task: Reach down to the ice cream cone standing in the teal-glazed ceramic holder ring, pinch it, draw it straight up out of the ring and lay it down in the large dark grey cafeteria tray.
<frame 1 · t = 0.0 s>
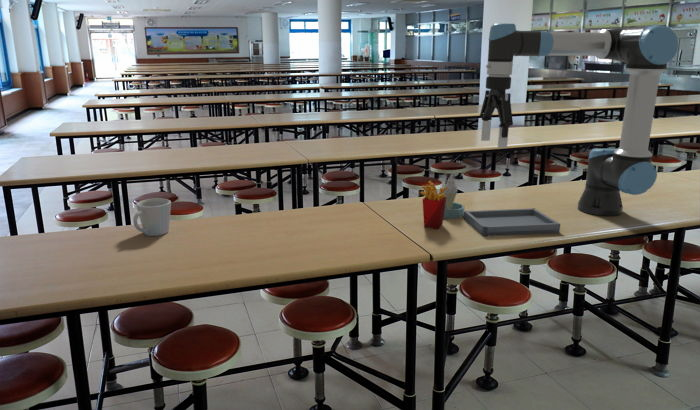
hand: (493, 144, 177), 28 cm above the table, fingers open, 13 cm apart
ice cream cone: (448, 214, 199), resting in holder cup
french fries: (429, 227, 185), on the table
holder cup: (448, 213, 199), on the table
mug: (152, 235, 175), on the table
tray: (509, 225, 186), on the table
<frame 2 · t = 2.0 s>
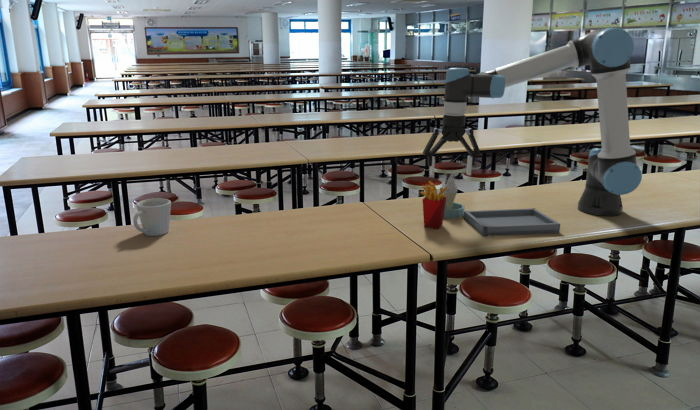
hand: (450, 174, 195), 14 cm above the table, fingers open, 13 cm apart
nothing on the table moved.
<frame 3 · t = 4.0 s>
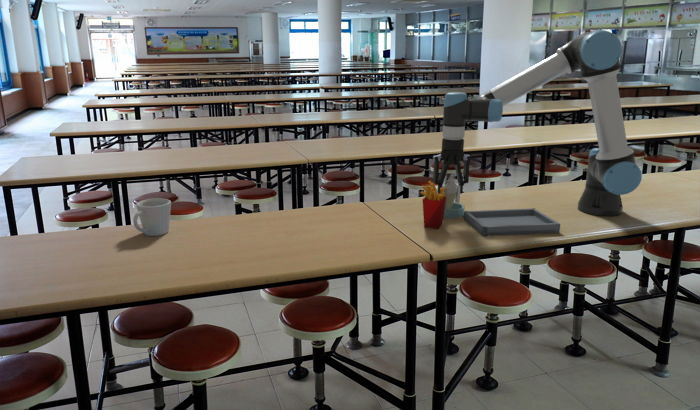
hand: (449, 202, 198), 4 cm above the table, fingers closed on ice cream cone, 5 cm apart
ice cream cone: (448, 214, 199), resting in holder cup, touching gripper
everything else where it was.
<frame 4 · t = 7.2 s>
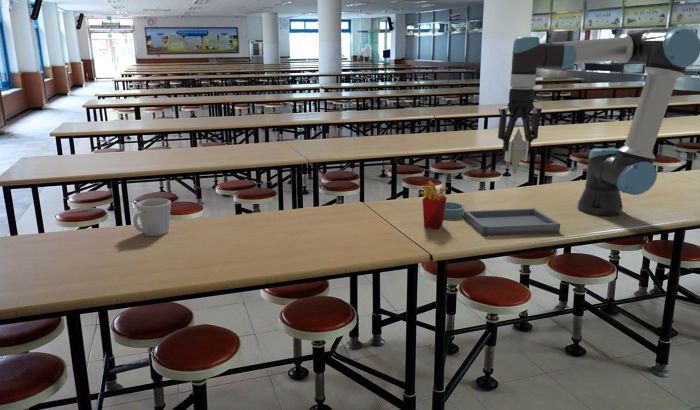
hand: (515, 160, 180), 22 cm above the table, fingers closed on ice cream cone, 5 cm apart
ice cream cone: (514, 174, 181), point 18 cm above the table, touching gripper
everything else where it was.
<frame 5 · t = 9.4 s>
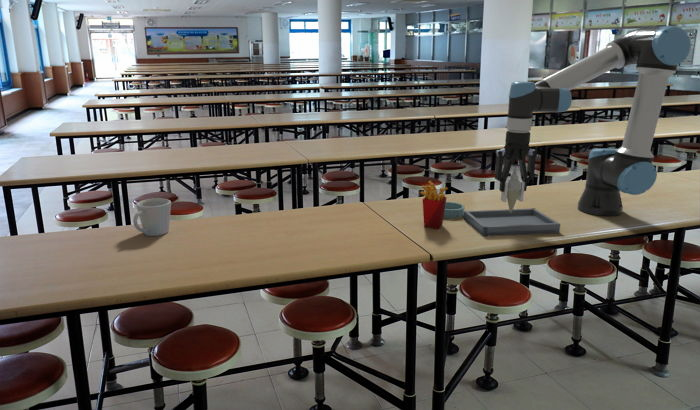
hand: (511, 200, 183), 9 cm above the table, fingers closed on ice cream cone, 5 cm apart
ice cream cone: (510, 213, 185), point 4 cm above the table, touching gripper
everything else where it was.
when the fingers open (7 cm above the table, at t = 10.6 s): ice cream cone drops 1 cm, resting on tray.
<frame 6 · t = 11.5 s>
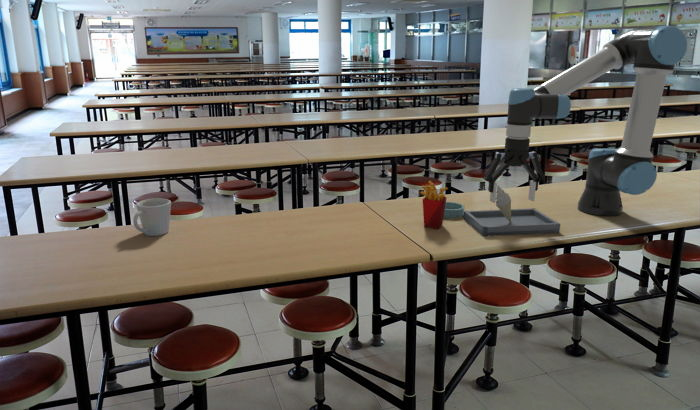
hand: (511, 200, 184), 9 cm above the table, fingers open, 13 cm apart
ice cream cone: (510, 222, 186), point 1 cm above the table, touching gripper, tray
everything else where it was.
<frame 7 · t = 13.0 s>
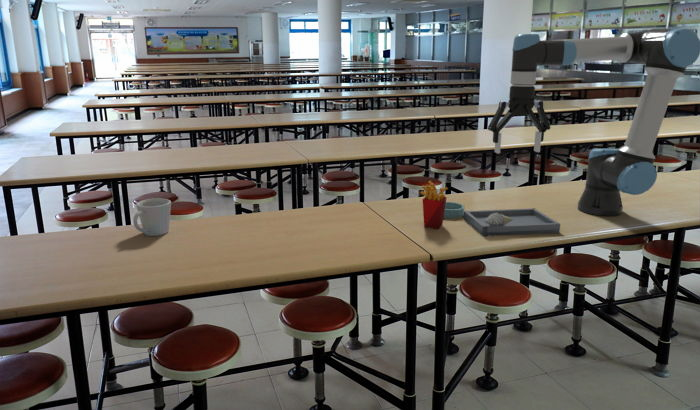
hand: (517, 152, 179), 25 cm above the table, fingers open, 13 cm apart
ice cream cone: (512, 219, 184), point 3 cm above the table, touching tray
everything else where it was.
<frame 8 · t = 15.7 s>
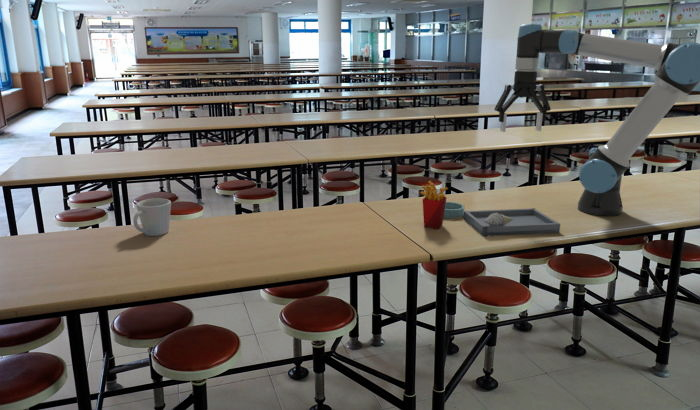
hand: (520, 131, 200), 29 cm above the table, fingers open, 13 cm apart
nothing on the table moved.
at the end: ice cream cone inside the target area on the tray (1.2 cm from its centre), point 2.6 cm above the tray's base; the gripper is holding nothing; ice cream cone touching tray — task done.
